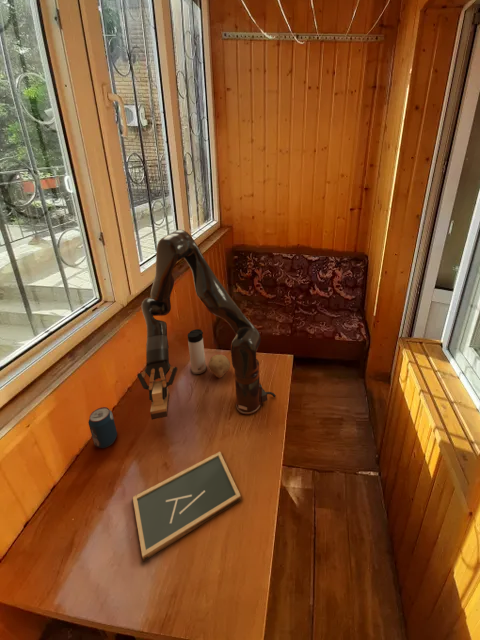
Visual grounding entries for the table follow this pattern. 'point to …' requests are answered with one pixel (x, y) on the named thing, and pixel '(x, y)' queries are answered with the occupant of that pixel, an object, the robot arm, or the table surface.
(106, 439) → the soda can
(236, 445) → the table surface
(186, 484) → the chalkboard
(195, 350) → the travel mug
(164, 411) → the eraser
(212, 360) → the natural sponge
